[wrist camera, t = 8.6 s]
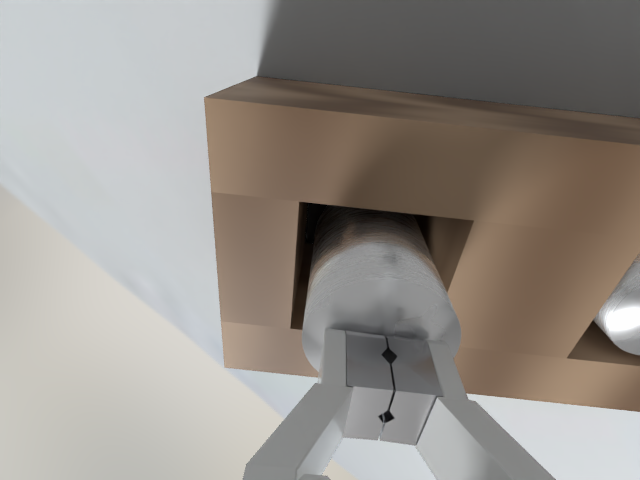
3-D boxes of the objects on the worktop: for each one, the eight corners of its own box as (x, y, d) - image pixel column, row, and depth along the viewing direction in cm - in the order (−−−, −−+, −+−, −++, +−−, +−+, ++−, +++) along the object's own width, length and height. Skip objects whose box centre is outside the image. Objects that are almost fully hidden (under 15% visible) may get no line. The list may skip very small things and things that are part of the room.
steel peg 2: (516, 262, 17) (586, 349, 12) (552, 186, 15) (654, 255, 10) (596, 270, 17) (698, 361, 12) (643, 196, 15) (789, 270, 10)
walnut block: (256, 276, 18) (224, 367, 13) (256, 76, 13) (204, 97, 8) (616, 315, 19) (723, 420, 13) (752, 130, 13) (1008, 185, 8)
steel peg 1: (311, 271, 14) (297, 384, 10) (320, 183, 12) (307, 271, 8) (404, 281, 14) (436, 399, 10) (429, 194, 12) (484, 290, 8)
